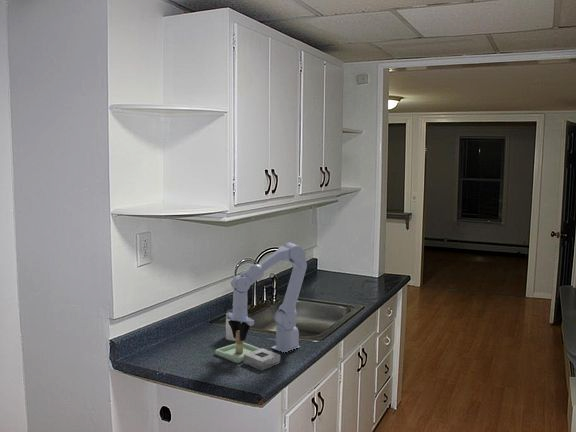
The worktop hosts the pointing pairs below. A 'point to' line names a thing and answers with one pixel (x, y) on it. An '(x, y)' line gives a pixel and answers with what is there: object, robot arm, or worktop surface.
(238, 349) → the pin
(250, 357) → the socket block
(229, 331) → the jar
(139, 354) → the worktop surface
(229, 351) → the tray
